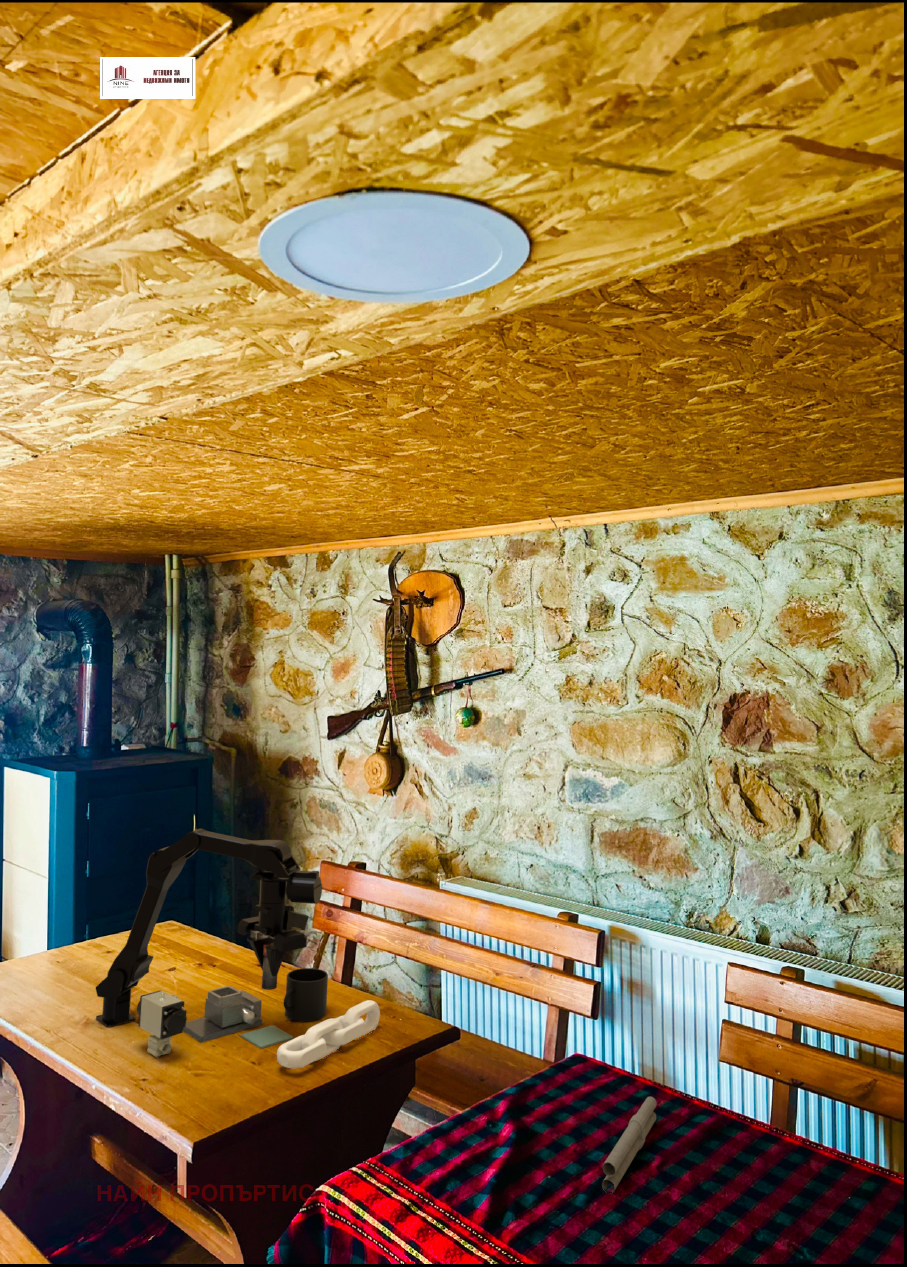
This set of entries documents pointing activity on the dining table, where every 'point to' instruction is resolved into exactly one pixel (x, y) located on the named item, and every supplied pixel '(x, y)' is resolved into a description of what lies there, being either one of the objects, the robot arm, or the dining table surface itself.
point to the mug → (306, 994)
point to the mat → (266, 1036)
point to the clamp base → (209, 1030)
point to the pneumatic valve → (161, 1020)
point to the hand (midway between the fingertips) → (269, 973)
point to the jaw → (224, 1006)
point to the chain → (329, 1036)
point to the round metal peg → (267, 972)
